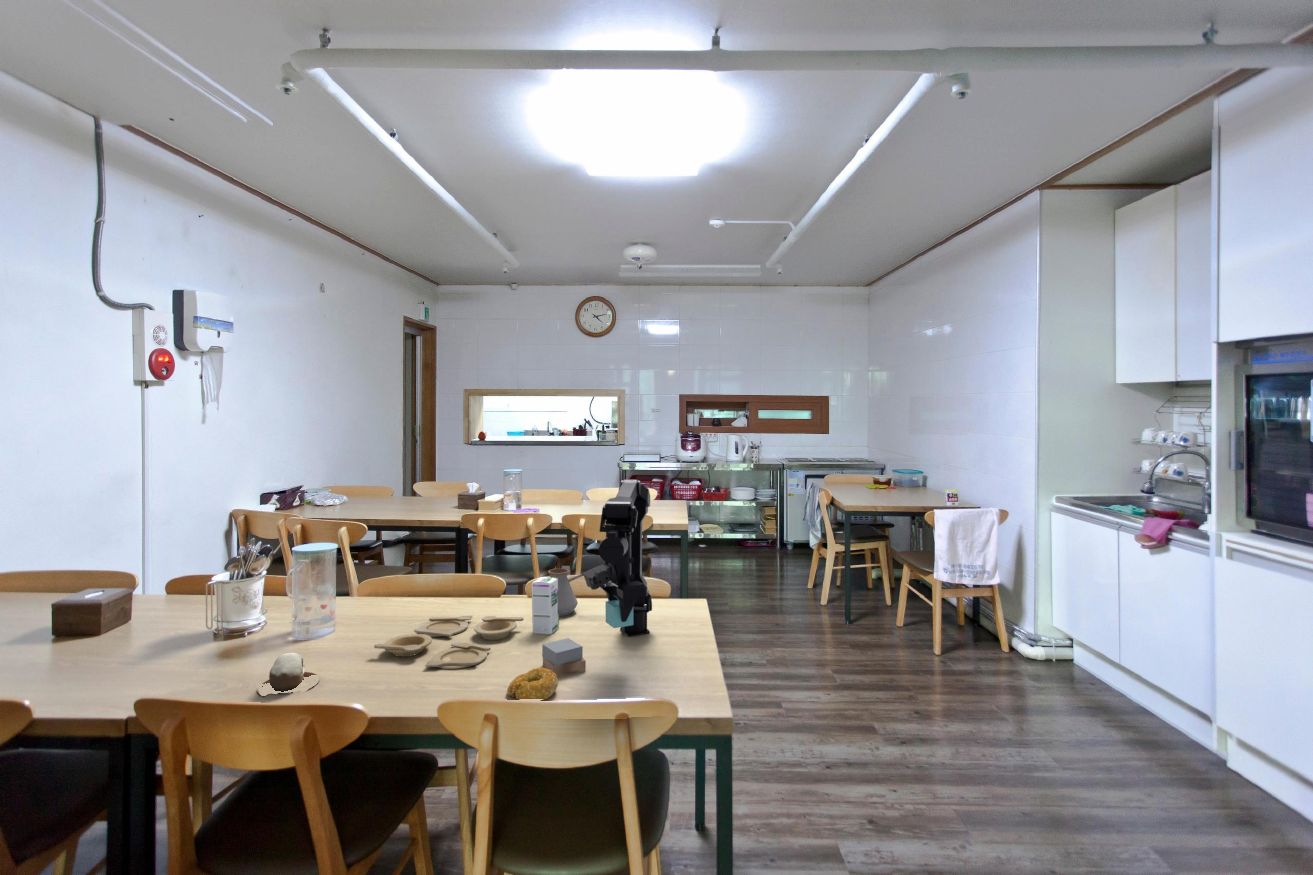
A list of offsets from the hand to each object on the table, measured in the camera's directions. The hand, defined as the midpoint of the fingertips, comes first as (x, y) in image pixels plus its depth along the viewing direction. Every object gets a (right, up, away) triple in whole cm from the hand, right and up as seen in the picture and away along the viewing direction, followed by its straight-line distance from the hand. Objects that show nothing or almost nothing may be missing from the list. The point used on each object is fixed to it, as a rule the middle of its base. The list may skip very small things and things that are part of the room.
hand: (619, 618), depth 150 cm
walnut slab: (-13, -13, 0) cm, 18 cm away
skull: (-73, -13, -10) cm, 75 cm away
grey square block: (-14, -10, 0) cm, 17 cm away
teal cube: (0, -1, 0) cm, 1 cm away
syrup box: (-22, -11, +26) cm, 36 cm away
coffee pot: (-16, -11, +43) cm, 47 cm away
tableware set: (-45, -12, +17) cm, 50 cm away
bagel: (-18, -13, -13) cm, 26 cm away
